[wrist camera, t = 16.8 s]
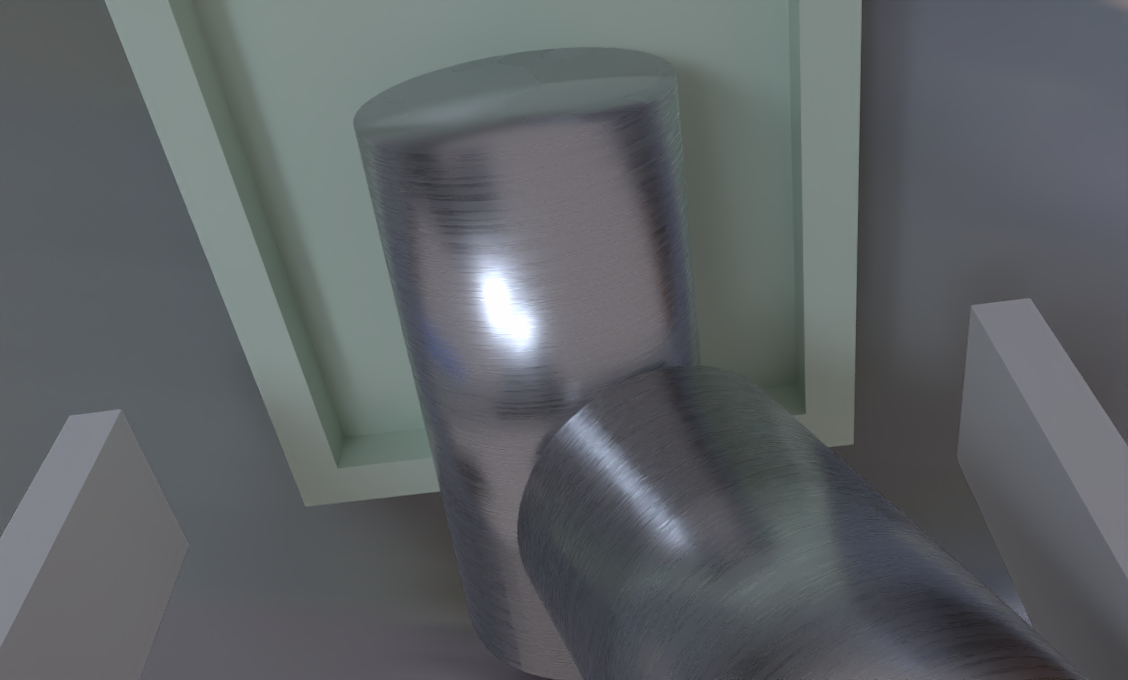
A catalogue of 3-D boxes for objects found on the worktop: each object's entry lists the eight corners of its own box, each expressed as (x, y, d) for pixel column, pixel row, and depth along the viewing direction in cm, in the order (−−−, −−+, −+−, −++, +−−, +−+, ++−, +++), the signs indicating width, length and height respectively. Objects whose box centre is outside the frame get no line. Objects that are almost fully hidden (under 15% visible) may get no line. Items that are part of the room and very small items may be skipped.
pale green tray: (-60, -567, 12) (-126, -581, 10) (842, -744, 11) (876, -781, 10) (319, 453, 20) (305, 506, 19) (835, 393, 19) (853, 444, 18)
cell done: (336, 171, 11) (477, 731, 16) (706, 113, 11) (748, 686, 16) (365, 77, 15) (474, 553, 19) (648, 32, 15) (695, 517, 19)
